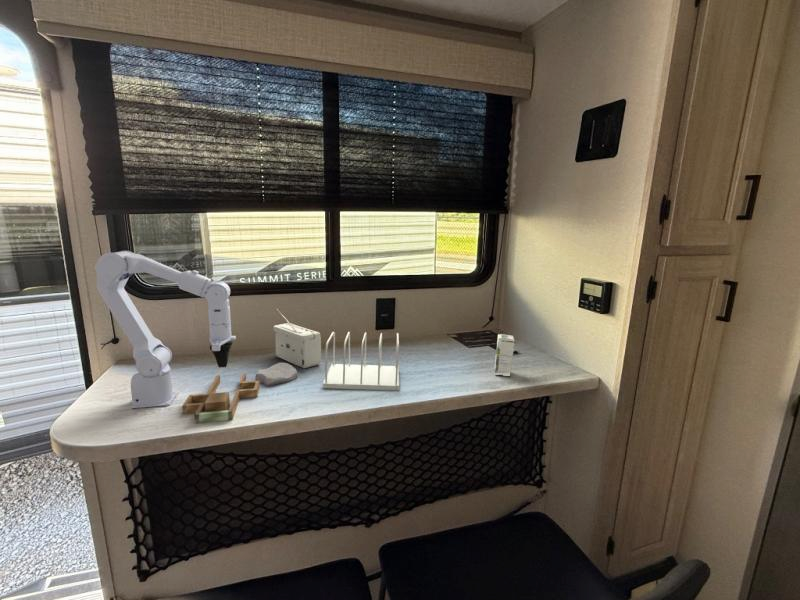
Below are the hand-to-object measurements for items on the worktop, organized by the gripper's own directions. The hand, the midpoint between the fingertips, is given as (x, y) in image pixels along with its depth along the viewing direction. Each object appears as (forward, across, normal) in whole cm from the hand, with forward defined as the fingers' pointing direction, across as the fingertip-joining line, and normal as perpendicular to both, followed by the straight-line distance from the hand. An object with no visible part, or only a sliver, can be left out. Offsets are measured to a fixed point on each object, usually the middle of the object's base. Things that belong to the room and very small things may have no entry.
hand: (222, 366), depth 110 cm
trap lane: (+9, -2, 0) cm, 10 cm away
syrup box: (+10, 0, -95) cm, 96 cm away
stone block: (+10, +10, -15) cm, 21 cm away
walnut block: (+10, -11, 0) cm, 14 cm away
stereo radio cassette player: (+10, +27, -21) cm, 36 cm away
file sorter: (+10, +5, -44) cm, 45 cm away
